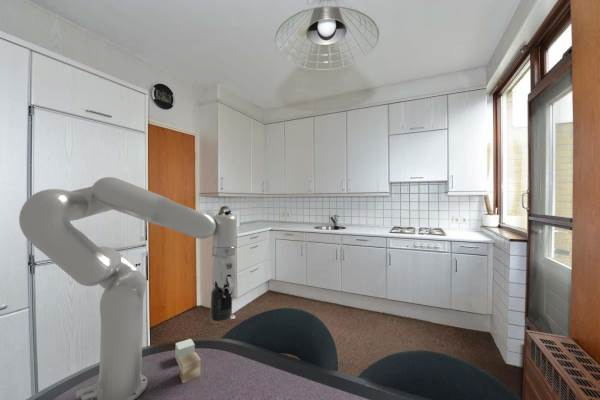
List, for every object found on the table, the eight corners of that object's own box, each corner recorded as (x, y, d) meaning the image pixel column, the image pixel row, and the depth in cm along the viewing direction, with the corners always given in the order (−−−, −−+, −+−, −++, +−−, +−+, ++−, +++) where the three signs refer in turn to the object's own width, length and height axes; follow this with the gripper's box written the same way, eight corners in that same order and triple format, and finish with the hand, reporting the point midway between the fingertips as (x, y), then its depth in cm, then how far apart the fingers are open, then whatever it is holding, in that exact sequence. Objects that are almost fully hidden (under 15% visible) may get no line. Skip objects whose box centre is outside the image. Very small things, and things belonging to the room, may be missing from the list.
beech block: (182, 383, 71) (183, 365, 72) (178, 374, 75) (179, 357, 75) (200, 376, 74) (200, 359, 75) (195, 368, 78) (196, 352, 79)
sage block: (178, 365, 80) (178, 349, 80) (175, 358, 84) (175, 343, 84) (194, 359, 83) (194, 344, 83) (190, 352, 87) (190, 338, 87)
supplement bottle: (234, 314, 84) (236, 278, 84) (226, 322, 77) (227, 284, 77) (216, 312, 84) (217, 277, 85) (205, 320, 78) (207, 282, 78)
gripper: (245, 254, 77) (243, 311, 76) (224, 247, 91) (222, 296, 90) (222, 256, 73) (219, 317, 72) (204, 249, 86) (201, 300, 85)
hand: (221, 305), depth 81 cm, fingers closed on supplement bottle, 6 cm apart
